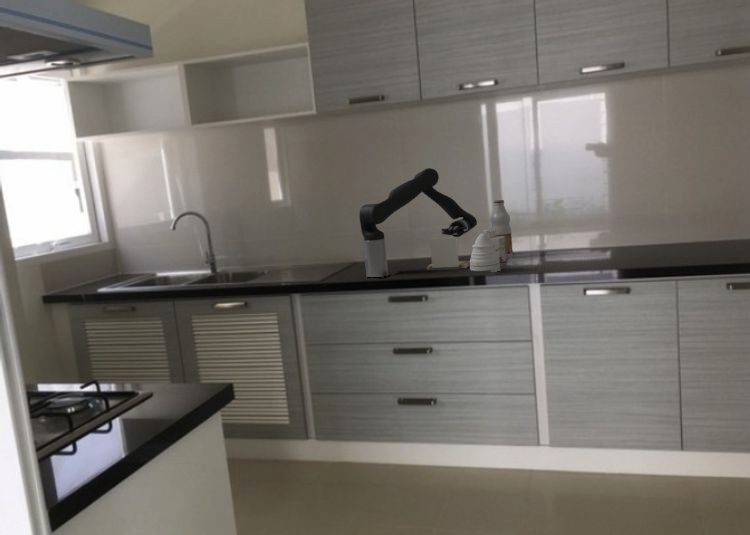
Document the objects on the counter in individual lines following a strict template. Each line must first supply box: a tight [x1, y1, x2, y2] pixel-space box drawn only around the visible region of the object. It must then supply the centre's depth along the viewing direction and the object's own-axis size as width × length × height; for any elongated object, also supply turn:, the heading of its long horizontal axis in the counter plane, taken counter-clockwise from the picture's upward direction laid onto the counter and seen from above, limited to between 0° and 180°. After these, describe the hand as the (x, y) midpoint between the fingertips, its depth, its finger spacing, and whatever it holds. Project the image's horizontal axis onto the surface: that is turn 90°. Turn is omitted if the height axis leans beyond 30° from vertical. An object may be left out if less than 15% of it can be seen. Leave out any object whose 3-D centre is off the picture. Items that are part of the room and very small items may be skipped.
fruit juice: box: [490, 199, 514, 260], centre depth 314 cm, size 9×9×28 cm
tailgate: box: [429, 236, 460, 271], centre depth 289 cm, size 12×1×15 cm, turn 69°
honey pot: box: [469, 229, 501, 273], centre depth 281 cm, size 13×13×18 cm
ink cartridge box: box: [488, 231, 507, 264], centre depth 304 cm, size 9×5×15 cm, turn 150°
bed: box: [426, 260, 470, 271], centre depth 296 cm, size 18×11×3 cm, turn 69°
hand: (449, 232), depth 298 cm, fingers closed
